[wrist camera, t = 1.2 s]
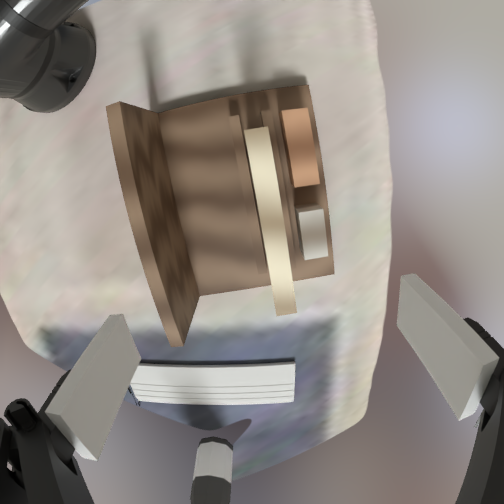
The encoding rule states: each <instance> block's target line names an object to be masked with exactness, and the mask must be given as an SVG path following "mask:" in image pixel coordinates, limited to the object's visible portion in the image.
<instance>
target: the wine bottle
mask: <svg viewBox="0 0 504 504" xmlns="http://www.w3.org/2000/svg"><path fill="white" fill-rule="evenodd" d="M232 457H233V446H232V445H231V444H230V443H229V442H228V441H227V440H226V439H221V438H217V437H209V438H204V439H202V440H201V442H200V443H199V446H198V450H197V457H196V464H195V470H194V477H193V484H192V490H191V498H190V499H191V504H229V503H230V493H231V475H232Z"/></svg>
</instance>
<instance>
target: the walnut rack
mask: <svg viewBox="0 0 504 504" xmlns="http://www.w3.org/2000/svg"><path fill="white" fill-rule="evenodd" d="M299 108H308V112H309V118H310V123H311V129H312V135H313V141H314V147H315V153H316V160H317V166H318V173H319V180H320V184H316V185H309V186H302V187H294V186H292V185H291V184H290V178H289V172H288V165H287V159H286V154H285V148H284V142H283V136H282V131H281V125H280V120H279V113H280V112H281V111H283V110H291V109H299ZM106 111H107V117H108V123H109V129H110V135H111V140H112V146H113V151H114V156H115V161H116V166H117V170H118V175H119V179H120V184H121V188H122V192H123V196H124V201H125V205H126V209H127V213H128V216H129V220H130V224H131V228H132V231H133V235H134V238H135V242H136V245H137V249H138V252H139V256H140V259H141V262H142V265H143V269H144V272H145V275H146V278H147V281H148V284H149V287H150V290H151V293H152V296H153V299H154V302H155V305H156V308H157V311H158V313H159V316H160V319H161V322H162V324H163V327H164V330H165V332H166V335H167V338H168V340H169V343H170V345H171V347H178V346H184V343H185V340H186V337H187V334H188V331H189V327H190V324H191V321H192V318H193V315H194V312H195V309H196V306H197V303H198V300H199V297H200V296H203V295H210V294H217V293H224V292H230V291H237V290H243V289H249V288H256V287H262V286H268V285H271V279H270V273H269V268H268V262H267V256H266V250H265V244H264V239H263V233H262V227H261V222H260V216H259V210H258V205H257V199H256V194H255V188H254V183H253V177H252V172H251V166H250V161H249V155H248V150H247V145H246V139H245V134H244V130H249V129H254V128H260V127H267V126H268V130H269V135H270V141H271V146H272V152H273V158H274V163H275V169H276V175H277V181H278V187H279V193H280V199H281V206H282V212H283V218H284V225H285V231H286V238H287V245H288V251H289V258H290V265H291V273H292V280H293V281H298V280H304V279H309V278H315V277H320V276H326V275H331V274H334V261H333V249H332V239H331V229H330V219H329V210H328V202H327V194H326V186H325V179H324V171H323V165H322V158H321V151H320V145H319V139H318V133H317V127H316V121H315V116H314V110H313V105H312V100H311V95H310V90H309V85H301V86H292V87H283V88H275V89H268V90H261V91H255V92H249V93H243V94H238V95H232V96H227V97H222V98H217V99H212V100H208V101H203V102H199V103H195V104H191V105H187V106H183V107H179V108H175V109H171V110H167V111H164V112H160V113H155V112H152V111H149V110H146V109H143V108H140V107H136V106H133V105H130V104H127V103H123V102H120V101H119V102H117V103H114V104H111V105H109V106H106ZM312 203H317V204H318V205H319V206H321V207H322V208H323V211H324V219H325V228H326V238H327V248H328V256H326V257H321V258H315V259H309V260H304V257H303V255H302V253H301V251H300V246H299V238H298V231H297V224H296V217H295V210H294V206H299V205H305V204H312Z"/></svg>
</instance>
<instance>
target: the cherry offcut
mask: <svg viewBox="0 0 504 504" xmlns="http://www.w3.org/2000/svg"><path fill="white" fill-rule="evenodd" d="M279 120H280V125H281V131H282V136H283V142H284V148H285V154H286V159H287V165H288V172H289V178H290V184H291V185H292V186H294V187H302V186H309V185H316V184H320V180H319V173H318V166H317V160H316V153H315V147H314V141H313V135H312V129H311V123H310V118H309V112H308V108H299V109H291V110H283V111H281V112H280V113H279Z"/></svg>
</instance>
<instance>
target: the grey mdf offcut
mask: <svg viewBox="0 0 504 504" xmlns="http://www.w3.org/2000/svg"><path fill="white" fill-rule="evenodd" d="M294 210H295V217H296V224H297V231H298V238H299V246H300V251H301V253H302V255H303V257H304V260H309V259H315V258H321V257H326V256H328V248H327V238H326V228H325V219H324V211H323V208H322V207H321V206H319V205H318V204H317V203H312V204H305V205H299V206H294Z"/></svg>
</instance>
